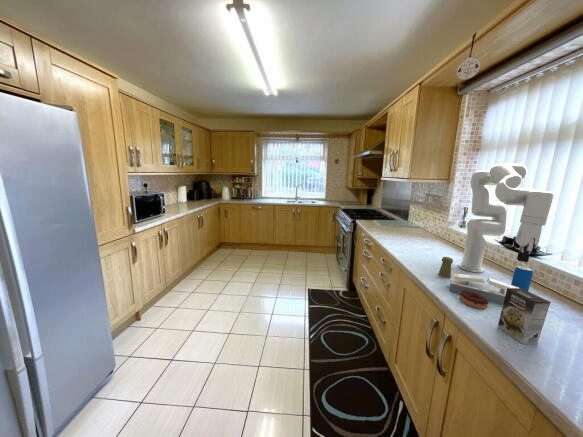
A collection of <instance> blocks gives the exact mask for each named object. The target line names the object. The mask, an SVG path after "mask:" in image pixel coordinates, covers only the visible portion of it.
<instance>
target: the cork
mask: <svg viewBox="0 0 583 437" xmlns="http://www.w3.org/2000/svg"><path fill="white" fill-rule="evenodd" d="M441 262H442V263H441V266H440V268H439V271H438V276H439V277H441V278H446V279H451V278H452V264H453V263H454V259H453V258H452V257H449V256H442V258H441Z"/></svg>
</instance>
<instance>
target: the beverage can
mask: <svg viewBox="0 0 583 437" xmlns="http://www.w3.org/2000/svg"><path fill="white" fill-rule="evenodd" d="M533 275H534V270H533V268H531V267H528V266H523V265H516V266H515V268H514V271H513V275H512V279H511V284H510V285H512V286H516V287H518V288H522V289H524V290H526V291H528V292H530V291H529V290H530V287H531V283H532V279H533Z"/></svg>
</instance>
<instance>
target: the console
mask: <svg viewBox="0 0 583 437" xmlns="http://www.w3.org/2000/svg"><path fill="white" fill-rule="evenodd" d="M449 291H450V292H452V293H456V294H459V295H460V294H461V293H462V292H463V291H469V292H474V293H477V294H479V295H481V296H482V297H484V298H485V299H486V300H487V301H488V302H491V303H496V304H499V305H502V306H503V303H504V299H505V295H506V291H507V290H504V289H501V288H498V287H494V286H493V287H492V286H488V285H485V284H480V283H477V282H469V281H460V280H455V278H453V277H451V278H450V281H449Z"/></svg>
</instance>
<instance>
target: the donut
mask: <svg viewBox="0 0 583 437" xmlns="http://www.w3.org/2000/svg"><path fill="white" fill-rule="evenodd" d="M459 299H460V300H461V301H462V302H463V303H464V304H465V305H467V306H470V307H471V308H475V309H486V308H488V305H489V301H487V300H486V299H485V298H484V297H482V296H481V295H479V294H477V293H474V292H469V291H463V292H462V293H461V294H459Z"/></svg>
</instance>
